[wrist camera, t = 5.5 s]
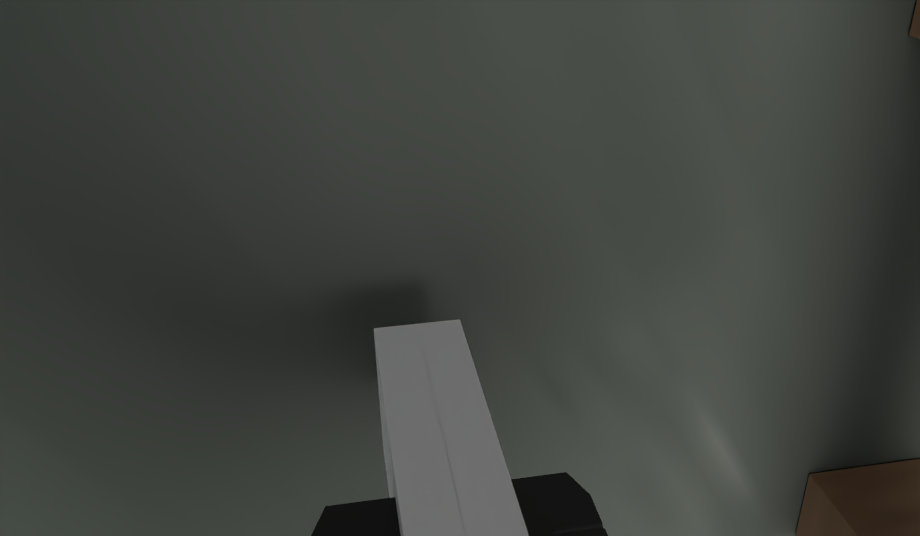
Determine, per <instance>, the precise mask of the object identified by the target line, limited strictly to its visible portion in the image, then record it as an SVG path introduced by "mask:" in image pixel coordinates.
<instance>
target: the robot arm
mask: <svg viewBox="0 0 920 536" xmlns="http://www.w3.org/2000/svg"><path fill="white" fill-rule="evenodd" d="M374 340H375V353H376V365H377V377H378V389H379V402H380V414H381V426H382V439H383V451H384V459H385V467H386V474H387V482H388V489H389V497H390V498H385V499H378V500H370V501H363V502H355V503H348V504H340V505H332V506H326V507H325V509H324V511H323V513H322V515H321V517H320V519H319V521H318V523H317V525H316V527H315V529H314V531H313V533H312V535H311V536H608V535H607V533H606V531H605V529H603V526H602V521H601V519H600V517H599V514H598V512H597V510H596V507H595V505H594V503H593V500H592V498H591V496H590V494H589V493H588V492H587V491H585V490H584V489H583V488H582V487H581V486H580V485H579V484H578V483H577V482H576V481H575V480H574V479H573V478H572V477H571V476H570V475H568V474H567V473H566V472H565V473H557V474H550V475H542V476H534V477H527V478H519V479H512V480H511V478H510V475H509V472H508V469H507V466H506V462H505V459H504V456H503V453H502V450H501V447H500V444H499V441H498V437H497V434H496V431H495V428H494V425H493V422H492V419H491V415H490V412H489V409H488V406H487V403H486V400H485V397H484V394H483V390H482V387H481V384H480V381H479V378H478V375H477V372H476V368H475V365H474V362H473V359H472V356H471V353H470V350H469V347H468V343H467V340H466V337H465V334H464V331H463V328H462V325H461V321H460V319H457V320H448V321H438V322H429V323H419V324H410V325H400V326H391V327H381V328H374Z"/></svg>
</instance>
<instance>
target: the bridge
mask: <svg viewBox="0 0 920 536" xmlns="http://www.w3.org/2000/svg"><path fill="white" fill-rule="evenodd" d="M909 36H912V37H915V38H917V39H920V0H917V3H916V7H915V12H914V16H913V21H912V25H911V29H910V34H909ZM796 536H920V459H915V460H908V461H900V462H893V463H886V464H879V465H871V466H864V467H857V468H850V469H843V470H835V471H828V472H821V473H814V474H809V478H808V483H807V487H806V492H805V496H804V500H803V505H802V509H801V514H800V518H799V522H798V527H797V531H796Z"/></svg>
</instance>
